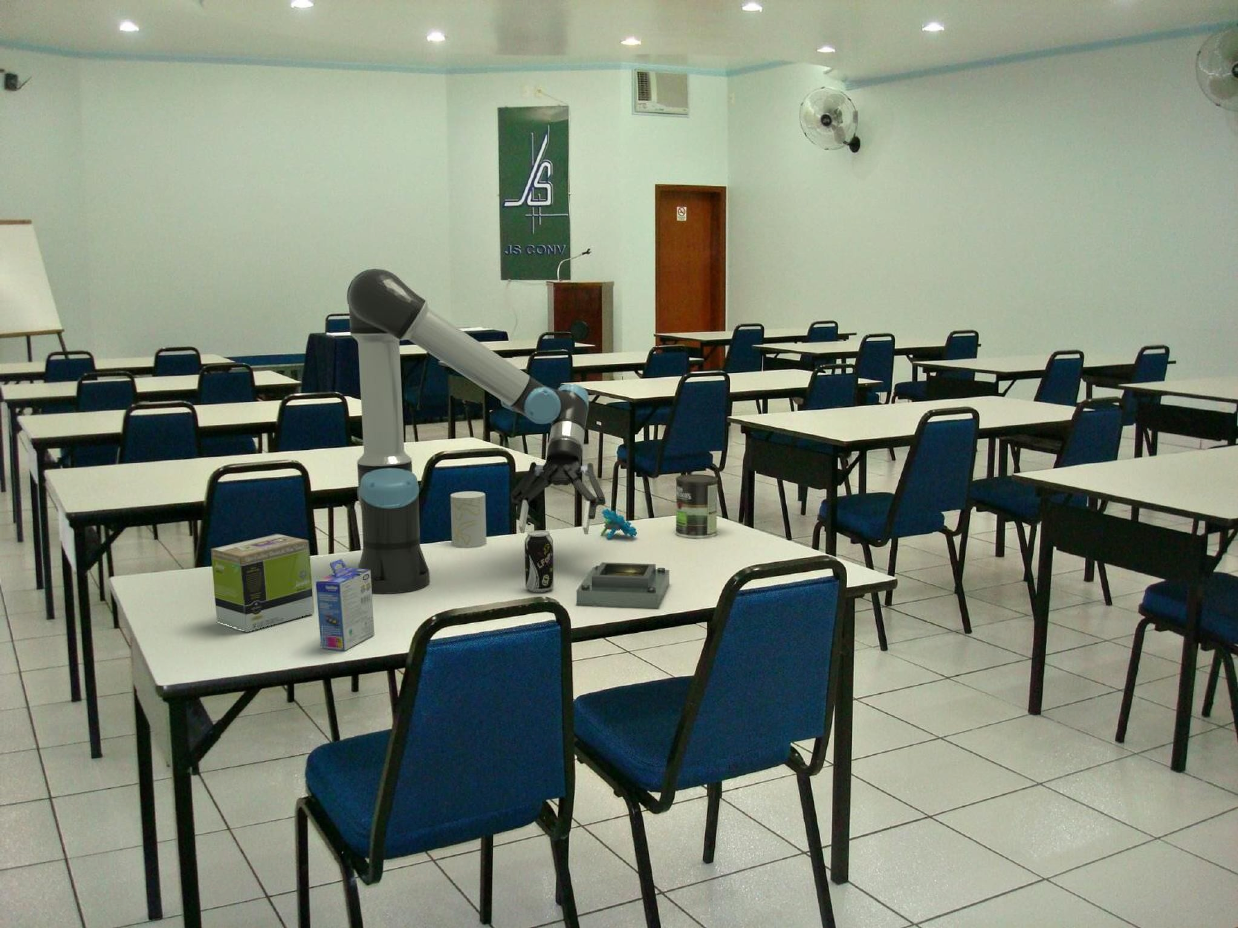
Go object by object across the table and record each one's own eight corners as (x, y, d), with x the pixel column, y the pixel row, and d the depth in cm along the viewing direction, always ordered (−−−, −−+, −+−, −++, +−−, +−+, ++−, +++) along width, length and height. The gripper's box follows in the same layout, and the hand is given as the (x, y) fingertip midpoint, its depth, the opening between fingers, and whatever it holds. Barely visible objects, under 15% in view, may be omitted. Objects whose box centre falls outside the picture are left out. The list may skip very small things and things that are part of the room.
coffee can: (689, 540, 279) (689, 482, 277) (667, 532, 288) (668, 476, 286) (725, 535, 284) (726, 479, 281) (703, 527, 293) (703, 472, 290)
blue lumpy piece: (645, 533, 279) (617, 507, 276) (631, 552, 277) (602, 526, 274) (624, 530, 289) (596, 505, 285) (610, 549, 287) (582, 524, 284)
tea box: (283, 605, 226) (279, 531, 224) (315, 615, 220) (311, 539, 217) (214, 624, 215) (209, 546, 212) (245, 634, 208) (240, 554, 206)
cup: (446, 546, 274) (444, 496, 272) (460, 539, 282) (459, 490, 280) (478, 548, 272) (476, 498, 270) (491, 541, 279) (490, 492, 277)
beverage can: (535, 595, 232) (534, 536, 230) (520, 589, 237) (519, 531, 235) (559, 590, 236) (558, 533, 234) (543, 584, 240) (543, 528, 238)
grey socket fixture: (593, 581, 243) (593, 557, 242) (669, 583, 240) (669, 560, 239) (576, 605, 225) (576, 580, 224) (658, 608, 223) (658, 583, 222)
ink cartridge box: (349, 631, 210) (345, 553, 207) (376, 634, 208) (372, 556, 205) (317, 648, 200) (313, 567, 198) (345, 651, 199) (341, 569, 196)
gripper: (623, 458, 255) (614, 540, 243) (512, 456, 258) (498, 538, 246) (619, 438, 248) (610, 522, 236) (506, 436, 252) (491, 519, 240)
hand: (553, 530), depth 241 cm, fingers open, 13 cm apart
